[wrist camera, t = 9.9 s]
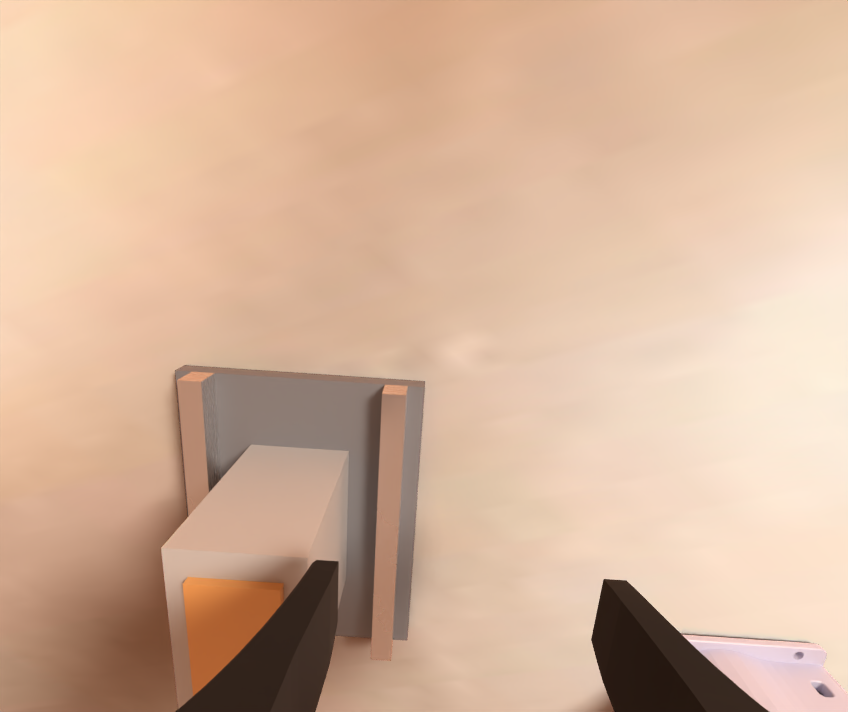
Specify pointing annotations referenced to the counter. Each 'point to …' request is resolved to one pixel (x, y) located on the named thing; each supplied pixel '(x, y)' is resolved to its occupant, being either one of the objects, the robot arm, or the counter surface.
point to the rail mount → (331, 430)
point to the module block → (250, 553)
